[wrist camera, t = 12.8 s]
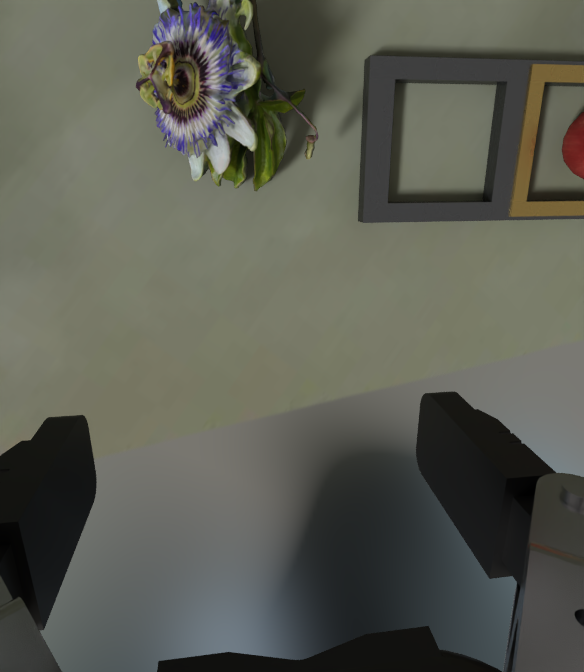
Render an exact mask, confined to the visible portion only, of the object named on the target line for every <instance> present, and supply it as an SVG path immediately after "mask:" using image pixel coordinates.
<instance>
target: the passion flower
mask: <svg viewBox="0 0 584 672" xmlns="http://www.w3.org/2000/svg"><path fill="white" fill-rule="evenodd" d="M157 3H158V5H159V10H160V19H159V23H157V24H155V25H154V29H153V45H152V46H151V47H150V48H149V50H148V52H147V53H146V54H145V55H144V54H141V55H140V56H139V57H138V61H139V68H140V72H141V74H142V78H140V79H138V81H137V83H136V88H137V89H138V90H139V91H140V96H141V97H142V98H143V100H144V101H145V102H147V103H148V105H150V106H152V107H153V108H158V110H157V111H156V112H155V115H157V119H156V122H157V127H159V128H160V129H161V132H163V133H166V135H165V137H164V139H163V141H164V140H165V139H166V137H167V139H168V141H167V142H166V146H165V147H167V144H169V145H170V147H171V146H173V147H174V148H177V149H178V151H181V153H182V155H188V161H189V164H190V168H191V174H192V178H193V180H194V181H198V180H199V179H200V178H201V177H202V176H203V175H204V174H205V173H206V171H207V170H208V169H210V172H211V176H212V180H213V181H214V182H215V183H216V185H217V186H221V178H222V177H223V178H224V179H225V180H230V181H233V182H234V187H235V188H238V187H239V186H240V185H242V184H243V183H244V181H245V180H246V177H247V172H246V169H247V157H246V151H247V150H248V149H250V151H254V155H253V158H254V173H255V175H254V178H253V184H254V191H257V190H258V189H259V188H260V187H262V186H263V185H264V184H266V183H267V182H268V181H270V180H272V178H273V176H274V175H275V173H276V171H277V168H278V166H279V163H280V161H281V159H283V156H284V151H285V147H286V143H287V139H286V135H285V131H284V128H283V126H282V123H281V119H280V117H279V114H278V113H279V112H281V113H286V112H287V111H290V110H292V109H293V108H294V109H295V110H296V112H297V113H299V114H300V115H302V117H303V118H304V119H305V120H306V121H307V122H308V123H309V124H310V125H311V127H312V128H313V129H314V130H315V132H316V135H315V136H314V135H308V136H306V140H307V141H308V142H307V149H306V152H305V156H306V159H310V158H311V157H312V154H313V150H314V143H315V141H317V139H318V133H317V129H316V127H315V126H314V125H313V124H312V123H311V122H310V120H309V119H308V118H307V117H306V115H305V114H304V113H303V112H301V111H300V110H299V109H298V107H297V105H298V104H299V103H300V102H301V100H302V99H303V97H304V94H305V89H303V90H300V91H296V92H285V91H283V90H281V89H279V88H278V87H277V86H276V85H275V79H274V76H273V74H272V72H271V70H270V68H269V66H268V63H267V61H266V59H265V57H264V55H263V51H262V50H263V48H262V43H261V36H260V30H259V24H258V18H257V5H256V0H209V4H208V7H207V9H206V10H205V9H204V7H203V6H198V4H197V3H196V2H194V4H193V5H192V3H190V11H183V9H182V2H181V0H157ZM241 15H245V16H246V18H247V19H246V21H245V22H246V24H245V27H244V30H246V29H247V28H248V27H249V25H250V22H251V20H253V27H254V34H255V41H256V49H257V59H255V58H254V57H253V56H252V55H253V51H252V46H251V44H250V43H249V41H248V39H247V36H246V33H245V32H244V30H243V29H242V27H241V24H240V20H239V18H240V16H241ZM262 79H263V81H264V83H266V88H267V89H272V88H273V90H274V91H275V92H274V94H273V95H272V96H270V97H268V96H266V95H263V94H262V93H261V91H260V89H261V82H262ZM242 91H243V94H242V96H241V97H240V99H238V100H237V101H236V100H235V98H236V96H237V95H238V94H239V93H240V92H242ZM235 101H236V102H235Z"/></svg>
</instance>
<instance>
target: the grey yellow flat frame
mask: <svg viewBox="0 0 584 672" xmlns="http://www.w3.org/2000/svg"><path fill="white" fill-rule="evenodd" d="M395 83H438V84H486V85H497V88H496V96H495V104H494V112H493V120H492V128H491V136H490V144H489V153H488V161H487V169H486V177H485V185H484V193H483V201H441V202H388V190H389V174H390V157H391V141H392V124H393V108H394V91H395ZM544 86H583V87H584V61H548V60H512V59H476V58H440V57H404V56H369V57H368V58H367V59H365V65H364V89H363V114H362V138H361V162H360V186H359V210H358V221H360V222H362V223H374V222H431V221H487V220H543V219H584V200H527V195H528V188H529V182H530V175H531V168H532V162H533V155H534V149H535V142H536V136H537V129H538V123H539V116H540V110H541V103H542V97H543V90H544Z"/></svg>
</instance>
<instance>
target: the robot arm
mask: <svg viewBox="0 0 584 672" xmlns="http://www.w3.org/2000/svg"><path fill="white" fill-rule="evenodd" d="M416 457H417V463H418V467H419V470H420V472H421V474H422V476H423V477H424V479H425V480H426V482H427V483H428V485H429V486H430V488H431V490H432V491H433V493H434V494H435V495H436V497H437V499H438V500H439V501H440V503H441V505H442V506H443V508H444V509H445V511H446V513H447V514H448V516H449V517H450V519H451V520H452V522H453V523H454V525H455V526H456V528H457V529H458V531H459V533H460V534H461V536H462V537H463V538H464V540H465V542H466V543H467V545H468V546H469V548H470V549H471V551H472V552H473V554H474V556H475V557H476V559H477V560H478V562H479V563H480V565H481V566H482V568H483V569H484V571H485V572H486V574H487V575H488V577H489V578H490V579H491V578H499V577H508V576H513V577H514V579H515V580H516V581H517V585H516V590H515V595H514V601H513V609H512V615H511V623H510V629H509V635H508V642H507V649H506V656H505V663H504V670H503V672H584V477H581V476H577V475H573V474H565V473H556V472H555V471H554V470H553V469H552V468H550V467H549V466H548V465H547V464H546V463H545V462H544V461H543V460H542V459H541V458H539V457H538V456H537V455H536V454H535V453H534V452H533V451H532V450H531V449H530V448H528V447H527V446H526V445H525V444H522V443H521V440H520V439H519V438H517V437H516V436H515V435H514V434H513V433H512V434H511V433H510V430H509V429H507V428H506V427H505V426H504V425H503V424H502V423H501V422H500V421H499V420H498V419H496V418H494V417H492V416H490V415H488V414H486V413H484V412H482V411H480V410H478V409H477V410H475V409H474V408H473V407H471V406H470V405H469V404H468V403H467V402H466V401H465V400H464V399H463V398H462V397H461V396H460V395H459V394H458V393H457V392H439V393H426V394H424V395H423V396H422V399H421V403H420V413H419V424H418V434H417V445H416ZM95 494H96V471H95V465H94V458H93V452H92V446H91V440H90V434H89V428H88V423H87V420H86V418H85V416H83V415H77V416H61V417H48V418H47V419H46V420H45V421H44V422H43V424H42V425H41V427H40V428H39V429H38V431H37V432H36V434H35V435H34V436H33V438H32V439H31V440H28V441H21V442H19V443H18V444H17V445H15V446H14V447H12V448H11V449H9V450H8V451H6V452H5V453H3V454H2V455H1V456H0V672H62V671H61V669H60V668H59V666H58V664H57V662H56V660H55V658H54V657H53V655H52V653H51V651H50V649H49V647H48V646H47V644H46V642H45V640H44V638H43V636H42V635H41V633H40V631H39V630H44V628H45V626H46V623H47V620H48V618H49V615H50V613H51V610H52V608H53V605H54V603H55V600H56V597H57V595H58V592H59V590H60V587H61V585H62V582H63V579H64V577H65V574H66V572H67V569H68V567H69V564H70V562H71V559H72V556H73V554H74V551H75V549H76V546H77V543H78V541H79V539H80V536H81V533H82V531H83V528H84V526H85V523H86V520H87V518H88V516H89V513H90V510H91V508H92V505H93V503H94V499H95ZM157 672H502V671H500V670H498V669H497V668H494V667H492V666H490V665H488V664H486V663H484V662H482V661H479V660H477V659H474V658H471V657H468V656H465V655H462V654H458V653H454V652H450V651H446V650H439V648H438V646H437V644H436V642H435V639H434V637H433V635H432V633H431V631H430V628H429V626H425V627H418V628H409V629H402V630H394V631H387V632H379V633H371V634H365V635H363V636H360V637H358V638H355V639H353V640H351V641H348V642H346V643H343V644H341V645H338V646H336V647H334V648H331V649H329V650H326V651H324V652H322V653H319V654H317V655H314V656H312V657H309V658H307V659H304V660H289V659H282V658H273V657H264V656H256V655H249V654H240V653H232V652H225V653H218V654H210V655H203V656H195V657H187V658H179V659H172V660H164V661H159V662H158V670H157Z"/></svg>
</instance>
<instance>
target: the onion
mask: <svg viewBox="0 0 584 672" xmlns="http://www.w3.org/2000/svg"><path fill="white" fill-rule="evenodd" d="M562 153H563V158H564V162H565V163H566V165H567V166H568V167H569V169H570V170H571V171H572V172H573V173H574V174H575V175H577V176H579V177H581V178H582V179H584V112H583V113H581V114H580V115H579V117H578V118H577V119H576V120H575V121H574V122H573V123H572V124H571V125H570V127H569V128H568V130H567V132H566V134H565V136H564V140H563V146H562Z"/></svg>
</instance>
